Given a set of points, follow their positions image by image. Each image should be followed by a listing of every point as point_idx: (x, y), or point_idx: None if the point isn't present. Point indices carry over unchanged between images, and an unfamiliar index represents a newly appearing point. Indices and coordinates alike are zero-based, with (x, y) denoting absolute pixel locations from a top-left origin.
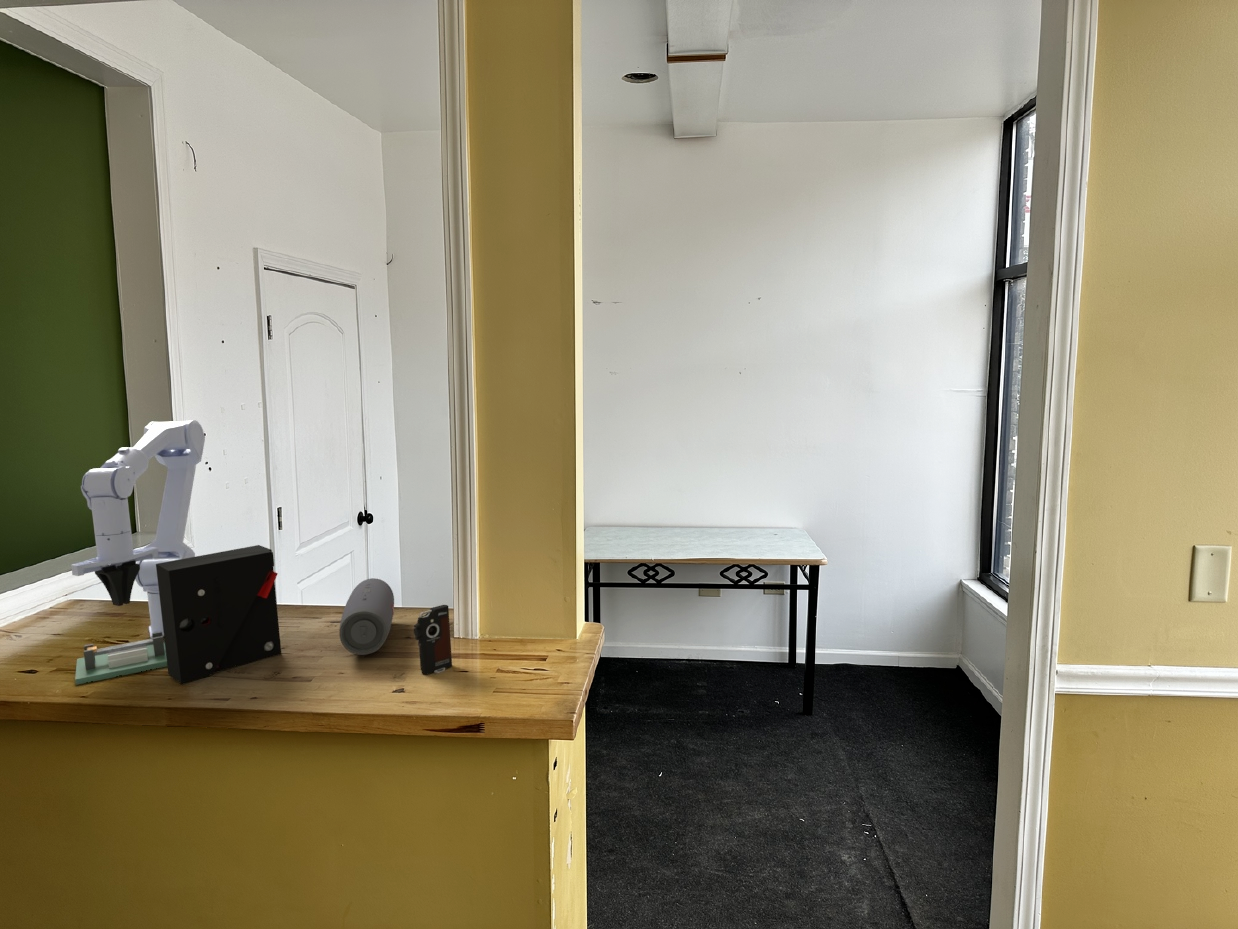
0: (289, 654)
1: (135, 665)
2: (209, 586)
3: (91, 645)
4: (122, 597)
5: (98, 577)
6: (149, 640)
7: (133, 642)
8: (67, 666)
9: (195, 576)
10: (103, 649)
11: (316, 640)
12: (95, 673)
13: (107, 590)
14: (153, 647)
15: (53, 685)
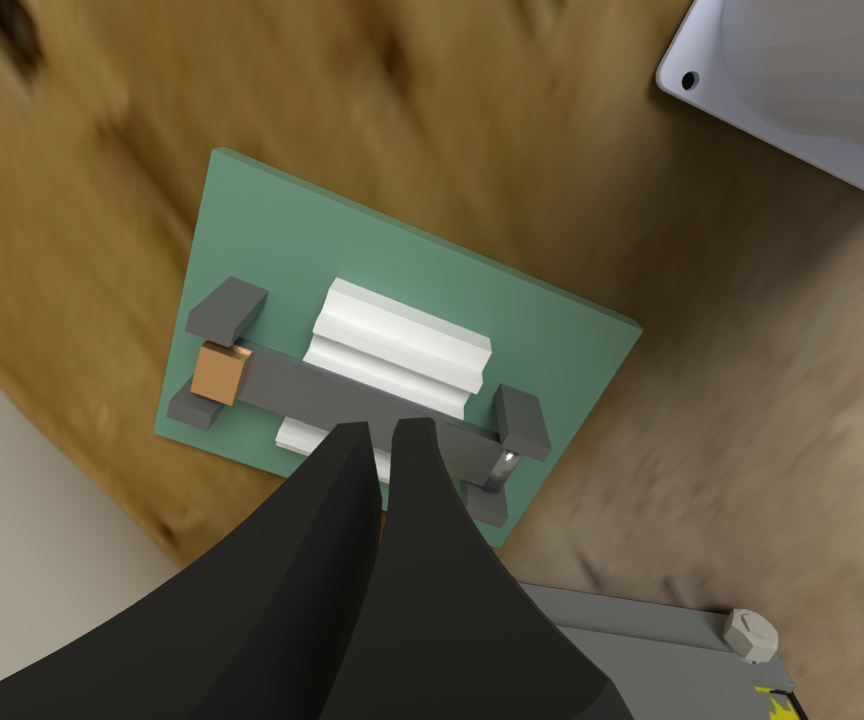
0: None
1: None
2: None
3: (221, 344)
4: (369, 571)
5: (65, 652)
6: (468, 458)
7: (409, 417)
8: (177, 130)
9: None
10: (272, 386)
11: (853, 690)
12: (228, 436)
13: (259, 511)
14: (524, 339)
15: (94, 346)
